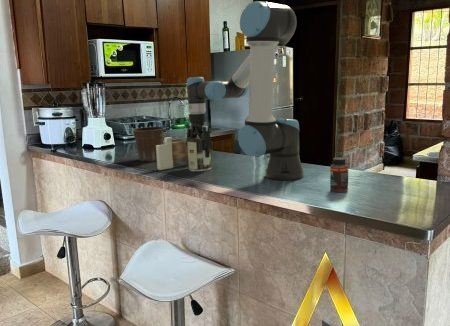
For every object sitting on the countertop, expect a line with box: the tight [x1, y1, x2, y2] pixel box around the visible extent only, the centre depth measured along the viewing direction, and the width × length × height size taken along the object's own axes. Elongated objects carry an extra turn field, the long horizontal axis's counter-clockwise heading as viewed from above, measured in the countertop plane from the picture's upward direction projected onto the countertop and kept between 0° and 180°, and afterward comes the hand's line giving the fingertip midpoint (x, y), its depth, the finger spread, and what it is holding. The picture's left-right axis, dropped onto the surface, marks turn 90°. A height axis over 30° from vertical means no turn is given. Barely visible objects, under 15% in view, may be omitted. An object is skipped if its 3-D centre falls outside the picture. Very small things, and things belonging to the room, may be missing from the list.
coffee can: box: [186, 137, 212, 172], centre depth 187 cm, size 10×10×14 cm
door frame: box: [156, 133, 203, 171], centre depth 197 cm, size 2×28×14 cm, turn 128°
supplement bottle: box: [329, 157, 349, 193], centre depth 143 cm, size 6×6×11 cm
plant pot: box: [131, 126, 165, 163], centre depth 215 cm, size 16×16×16 cm
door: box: [172, 140, 189, 167], centre depth 198 cm, size 13×3×11 cm, turn 128°
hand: (199, 163), depth 188 cm, fingers closed on coffee can, 10 cm apart
